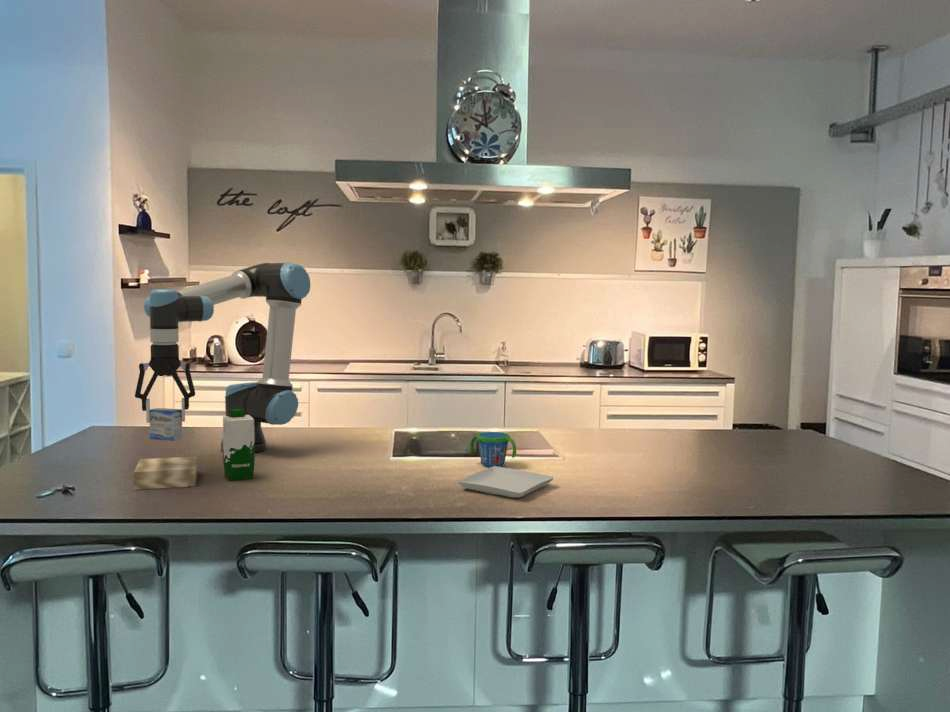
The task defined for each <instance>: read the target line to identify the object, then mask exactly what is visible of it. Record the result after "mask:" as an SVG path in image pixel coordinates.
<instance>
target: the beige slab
mask: <svg viewBox="0 0 950 712" xmlns="http://www.w3.org/2000/svg"><path fill="white" fill-rule="evenodd" d="M197 478H198V456H178V457H158V458H157V457H156V458H140V459H139V460H138V463H137V465H136V467H135V468H134V471H133V489H134V490H135V491H136V490H149V489H151V490H152V489H169V488H170V489H171V488H185V487H186V488H188V486H191V487H196V484H197Z"/></svg>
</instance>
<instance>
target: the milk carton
mask: <svg viewBox="0 0 950 712" xmlns="http://www.w3.org/2000/svg"><path fill="white" fill-rule="evenodd" d="M222 439H223V452H222V464H223V471H224V476H225V477H226V478H227V480H228V481H238V480H240V481H241V480H249V479H254V473H255V472H254V471H255V455H256V452H255V443H254V419H253V418H252V417H251V416H250V415H244V409H231V410H230V416H226V415H223V416H222Z"/></svg>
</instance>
